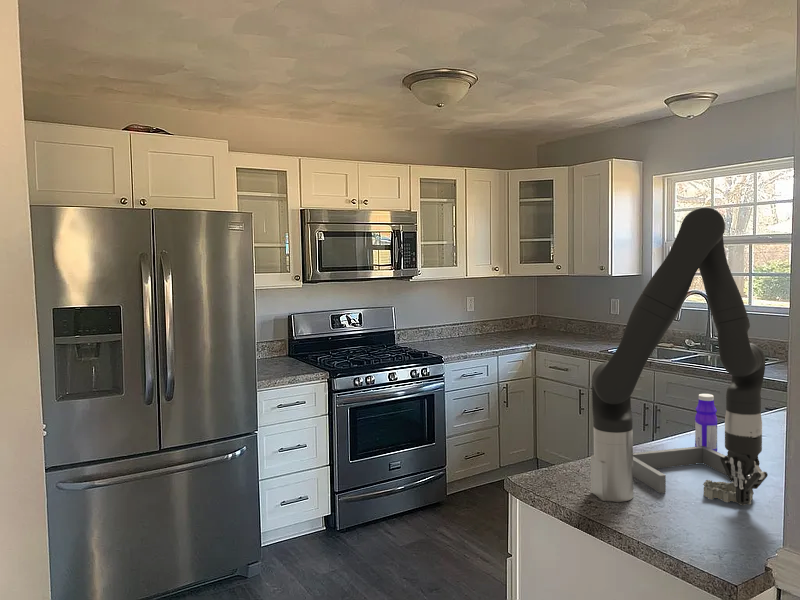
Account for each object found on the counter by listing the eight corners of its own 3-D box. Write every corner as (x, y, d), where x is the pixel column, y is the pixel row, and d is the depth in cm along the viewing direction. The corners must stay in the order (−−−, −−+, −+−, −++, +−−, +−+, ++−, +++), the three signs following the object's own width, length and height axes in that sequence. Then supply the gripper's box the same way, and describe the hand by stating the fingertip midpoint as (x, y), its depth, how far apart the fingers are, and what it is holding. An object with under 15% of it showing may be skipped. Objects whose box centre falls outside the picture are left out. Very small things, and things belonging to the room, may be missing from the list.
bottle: (720, 456, 180) (720, 397, 179) (699, 456, 181) (699, 397, 180) (712, 449, 187) (712, 392, 186) (692, 448, 188) (692, 392, 187)
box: (660, 493, 155) (660, 475, 155) (623, 469, 172) (623, 454, 172) (748, 483, 159) (748, 466, 159) (703, 461, 177) (703, 445, 176)
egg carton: (755, 498, 151) (755, 482, 150) (749, 508, 145) (749, 491, 145) (707, 488, 157) (708, 473, 157) (700, 498, 152) (700, 482, 151)
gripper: (709, 424, 148) (709, 494, 150) (749, 439, 135) (748, 516, 137) (737, 421, 150) (737, 491, 151) (779, 437, 137) (778, 513, 138)
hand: (742, 503), depth 144 cm, fingers closed
